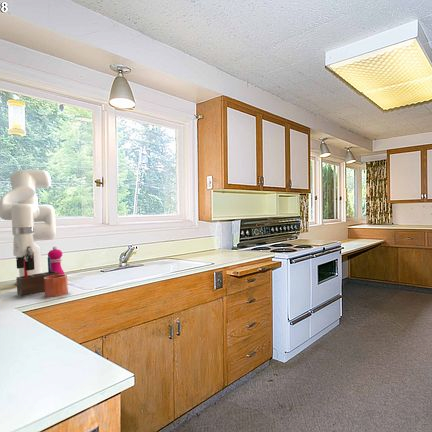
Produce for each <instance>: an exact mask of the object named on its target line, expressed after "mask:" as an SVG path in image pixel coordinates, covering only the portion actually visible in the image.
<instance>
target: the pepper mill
mask: <svg viewBox="0 0 432 432" xmlns="http://www.w3.org/2000/svg"><path fill="white" fill-rule="evenodd" d="M48 257H50V258H51V271H56V272H59V274H66V273H65V271H64V270H63V268H62V263H61V262H62V257H63V251H62V250H61V249H58V247H57V246H53V247H52V249H51V250H49V251H48V252H47V258H48Z"/></svg>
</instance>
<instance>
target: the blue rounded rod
mask: <svg viewBox="0 0 432 432" xmlns="http://www.w3.org/2000/svg"><path fill="white" fill-rule="evenodd" d="M47 272H48V274H49V273H51V258H50V257H48V256H47Z"/></svg>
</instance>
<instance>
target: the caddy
mask: <svg viewBox="0 0 432 432" xmlns="http://www.w3.org/2000/svg"><path fill="white" fill-rule="evenodd" d="M58 274H59V272H56V271H51V273H49V274H48V271H46V272H42V273H39V274H33V275H28V277H26V278H25V277H24V276H21V277H20V276H17V277H15V278H16V282H17V284H16V294H17V296H19V297H26V296H32V295H37V294H41V293H45V291H44V277H47V276H51V275H58Z"/></svg>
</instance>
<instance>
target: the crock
mask: <svg viewBox="0 0 432 432" xmlns="http://www.w3.org/2000/svg"><path fill="white" fill-rule="evenodd" d="M68 286H69V283H68V274H66V273H65V274H58V275H51V276H47V277H44V291H45V292H44V297H45V298H57V297H62V296H65V295H67V294H69V287H68Z"/></svg>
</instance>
